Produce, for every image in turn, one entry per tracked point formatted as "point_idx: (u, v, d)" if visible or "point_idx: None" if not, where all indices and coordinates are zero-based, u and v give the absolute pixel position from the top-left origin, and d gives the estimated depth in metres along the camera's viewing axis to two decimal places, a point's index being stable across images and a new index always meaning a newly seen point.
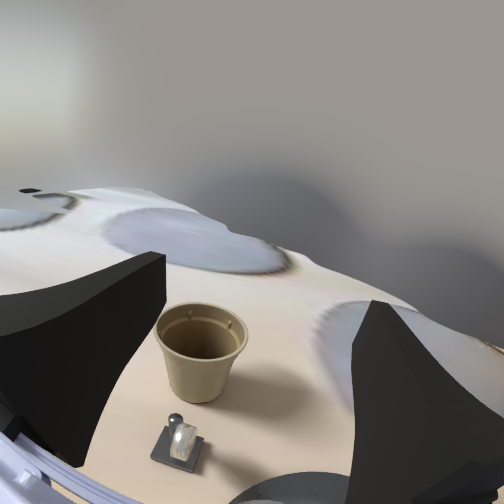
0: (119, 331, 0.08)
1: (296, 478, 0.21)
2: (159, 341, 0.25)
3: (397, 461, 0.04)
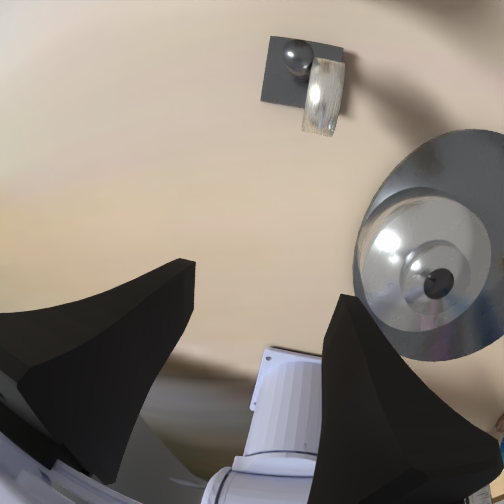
0: (152, 342, 0.08)
1: (481, 140, 0.12)
2: None
3: (350, 460, 0.04)
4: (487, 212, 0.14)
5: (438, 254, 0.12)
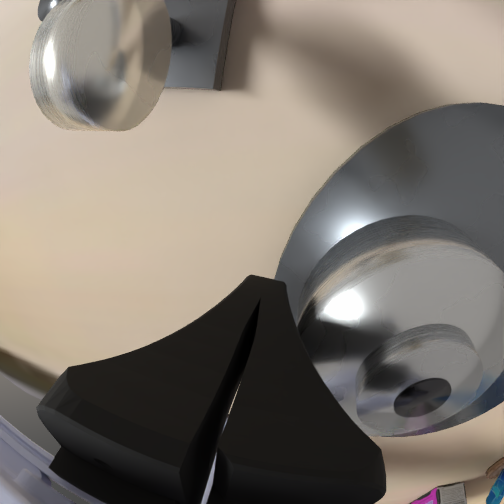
0: (238, 368, 0.07)
1: (495, 122, 0.06)
2: None
3: None
4: (500, 247, 0.08)
5: (427, 360, 0.06)
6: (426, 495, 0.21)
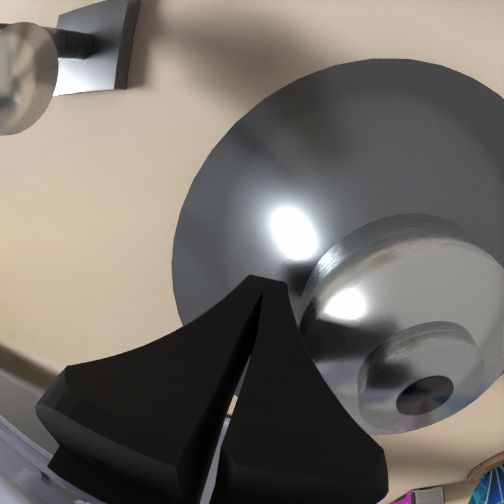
0: (237, 367, 0.07)
1: (394, 77, 0.07)
2: None
3: None
4: None
5: (429, 358, 0.06)
6: (402, 497, 0.21)
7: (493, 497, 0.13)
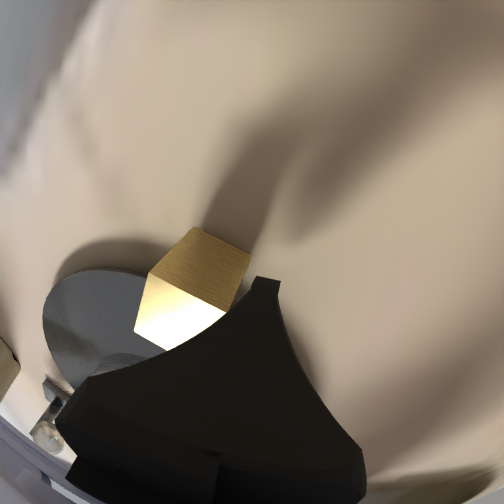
0: None
1: (57, 357, 0.17)
2: None
3: None
4: None
5: None
6: None
7: None
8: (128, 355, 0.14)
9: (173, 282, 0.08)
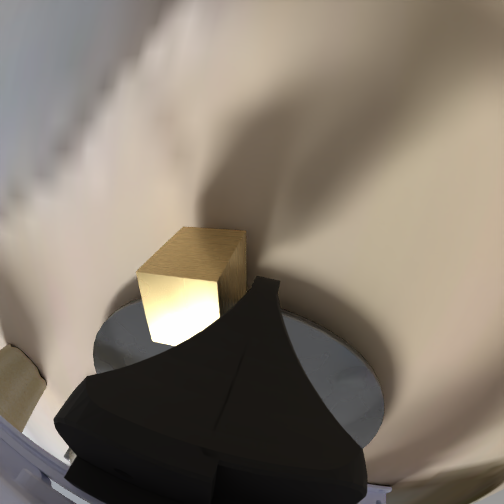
0: None
1: None
2: None
3: None
4: None
5: None
6: None
7: None
8: None
9: (160, 272, 0.08)
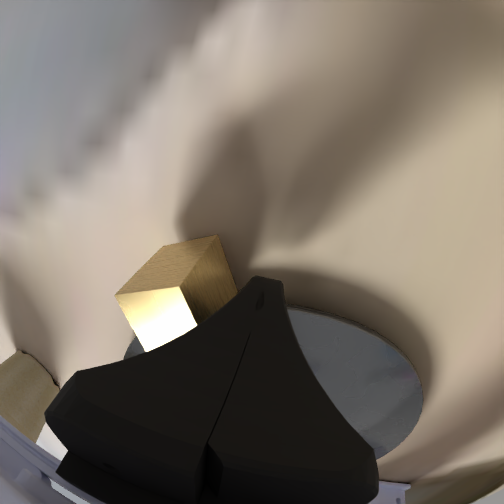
0: None
1: None
2: None
3: None
4: None
5: None
6: None
7: None
8: None
9: (133, 290, 0.08)
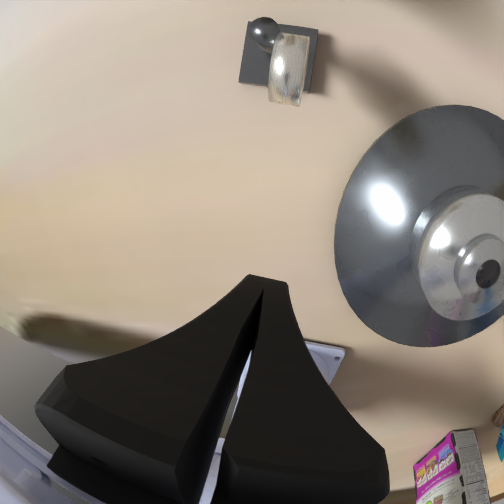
0: (236, 367, 0.07)
1: (378, 156, 0.15)
2: None
3: None
4: None
5: (472, 260, 0.12)
6: (442, 441, 0.27)
7: None
8: None
9: None
